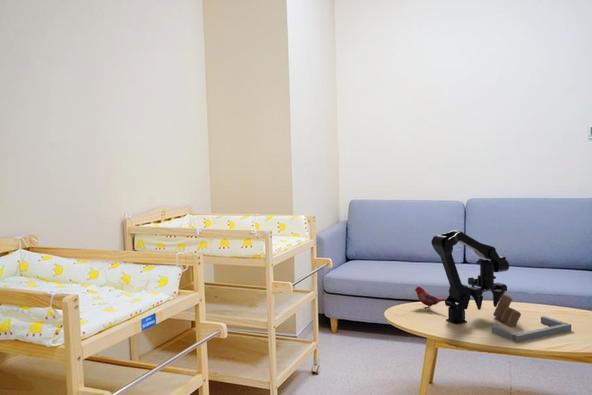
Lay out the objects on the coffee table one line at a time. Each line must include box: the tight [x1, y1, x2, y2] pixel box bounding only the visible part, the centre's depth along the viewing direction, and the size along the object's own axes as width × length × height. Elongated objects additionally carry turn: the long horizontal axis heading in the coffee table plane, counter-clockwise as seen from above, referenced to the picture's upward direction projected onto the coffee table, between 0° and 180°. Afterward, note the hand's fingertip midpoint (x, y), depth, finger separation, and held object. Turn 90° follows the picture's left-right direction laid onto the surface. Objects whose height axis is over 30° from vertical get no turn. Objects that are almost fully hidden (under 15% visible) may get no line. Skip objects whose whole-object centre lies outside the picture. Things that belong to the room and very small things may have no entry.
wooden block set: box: [493, 293, 522, 328], centre depth 223 cm, size 18×9×10 cm, turn 168°
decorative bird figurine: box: [414, 286, 447, 310], centre depth 242 cm, size 3×18×10 cm, turn 43°
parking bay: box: [491, 315, 572, 344], centre depth 207 cm, size 29×13×2 cm, turn 113°
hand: (487, 308), depth 229 cm, fingers open, 9 cm apart
